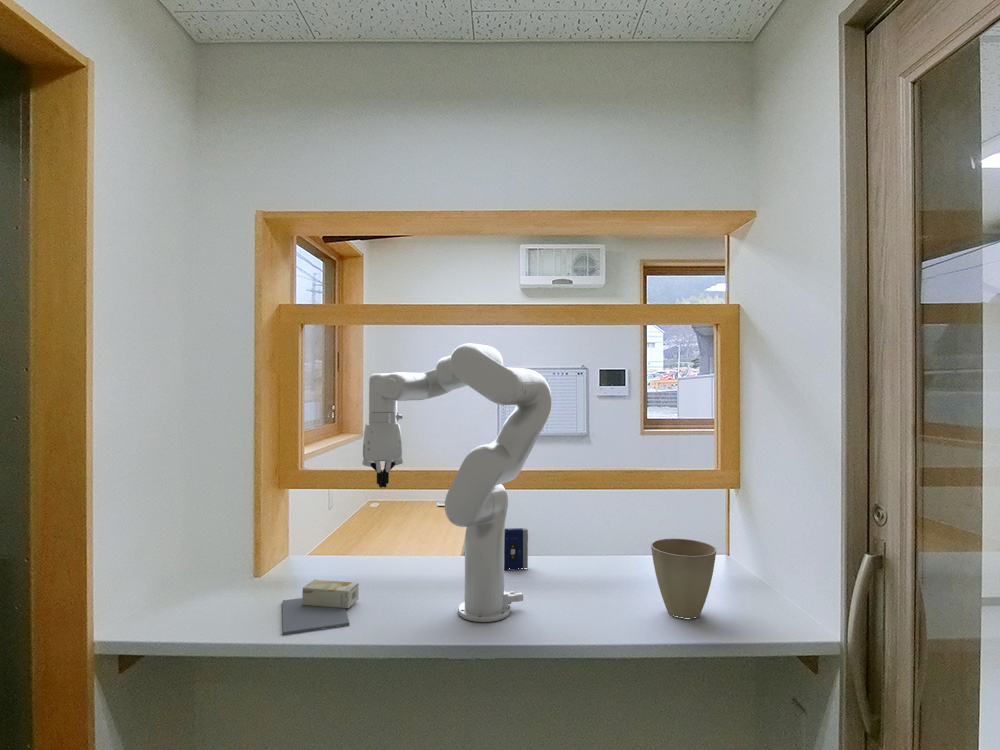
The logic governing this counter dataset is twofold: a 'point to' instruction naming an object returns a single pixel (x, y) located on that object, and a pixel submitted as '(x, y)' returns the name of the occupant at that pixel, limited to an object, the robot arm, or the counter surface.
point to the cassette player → (516, 548)
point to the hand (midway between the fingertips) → (382, 486)
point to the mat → (310, 617)
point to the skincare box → (330, 593)
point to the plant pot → (683, 574)
